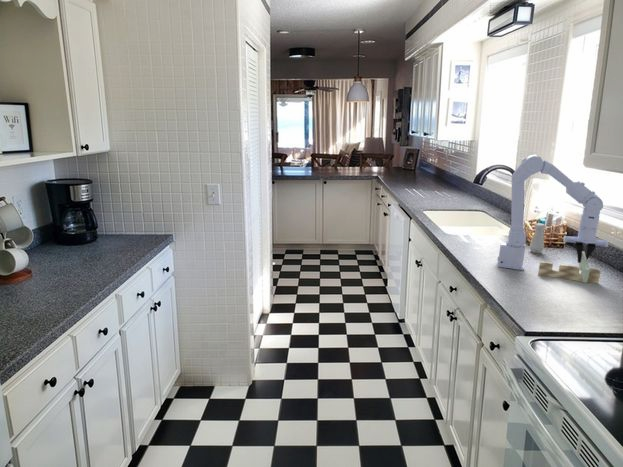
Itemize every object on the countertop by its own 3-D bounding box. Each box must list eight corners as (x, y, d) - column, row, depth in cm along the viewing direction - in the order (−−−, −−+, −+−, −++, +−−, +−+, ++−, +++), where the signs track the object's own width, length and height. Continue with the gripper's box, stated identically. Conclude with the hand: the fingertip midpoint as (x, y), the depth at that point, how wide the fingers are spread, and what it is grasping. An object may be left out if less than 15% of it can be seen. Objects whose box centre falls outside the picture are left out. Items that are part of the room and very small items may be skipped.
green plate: (578, 262, 182) (580, 251, 180) (581, 263, 182) (584, 251, 180) (583, 282, 169) (586, 269, 167) (586, 282, 168) (589, 270, 166)
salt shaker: (544, 254, 208) (549, 225, 204) (530, 253, 209) (535, 224, 205) (540, 251, 213) (545, 222, 210) (527, 249, 214) (531, 221, 211)
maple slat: (538, 274, 180) (540, 262, 179) (538, 273, 181) (540, 261, 180) (598, 283, 173) (600, 270, 172) (597, 282, 174) (600, 269, 173)
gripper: (567, 227, 175) (561, 262, 178) (612, 232, 170) (605, 268, 173) (565, 223, 181) (559, 257, 184) (609, 228, 176) (602, 263, 179)
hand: (581, 262), depth 179 cm, fingers closed on green plate
